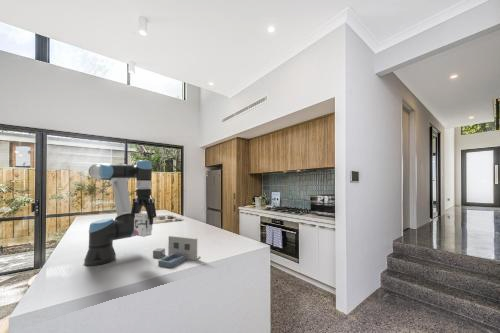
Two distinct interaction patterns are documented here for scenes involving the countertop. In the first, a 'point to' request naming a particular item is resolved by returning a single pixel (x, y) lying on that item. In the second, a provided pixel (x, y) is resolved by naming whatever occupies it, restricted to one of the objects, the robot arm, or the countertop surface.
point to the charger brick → (158, 252)
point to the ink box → (141, 224)
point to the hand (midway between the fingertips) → (143, 230)
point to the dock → (172, 260)
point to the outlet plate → (183, 247)
